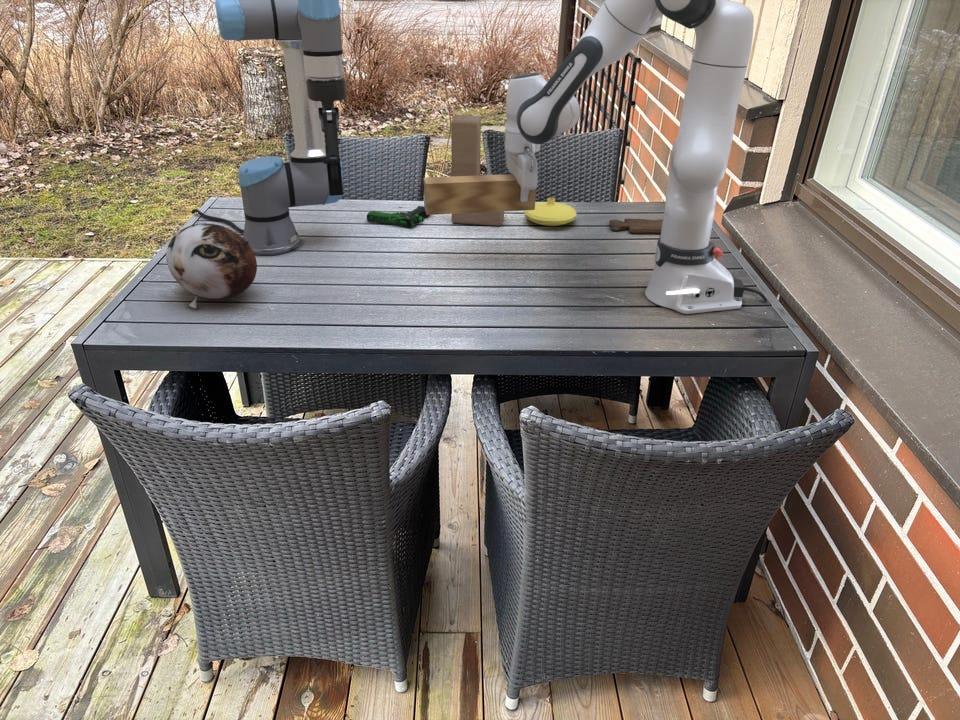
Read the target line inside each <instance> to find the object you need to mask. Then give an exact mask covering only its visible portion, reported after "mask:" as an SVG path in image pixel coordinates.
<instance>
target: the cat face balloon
mask: <svg viewBox="0 0 960 720" xmlns="http://www.w3.org/2000/svg"><path fill="white" fill-rule="evenodd" d="M248 242H249V241H246V240H245V239H244V238H243V236H242V235H240V234H239V233H238V232H236V231H234V230H233V229H231V228H229V227H226V226H223V225H220V224H215V223H205V222H204V223H195V224H191V225H188V226H186V227H183V228H182V229H180V230H179V231H177V232H176V233H175V234H174V235H173V237H171V239H170V241H169V243H168V245H167V248H166V254H165V260H166V265H167V268H168V271H169V273H170V275H171V276H172V277H173V279H174V280H175V281H176V282H177V284H178V285H180V286H181V287H182V288H183V289H185V290H186V291H187V292H189V293H191V294H194V295H195V298H194V299H193V300H192V302H190V303H189V304H188V306H189V307H191V308H192V309H197V308H198V307H197V298H198V297H201V298H205V299H210V300H226V299H230V298H233V297H236V296H238V295H241V294H242V293H244V292H245V291H247V290H248V289H249V288H250V286H251V285H252V284H253V282H254V280H255V278H256V275H257V271H258V262H257V257H256V254H254V252H253V250H252V248H251V247H250V245H249V244H248Z"/></svg>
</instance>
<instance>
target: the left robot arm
mask: <svg viewBox="0 0 960 720" xmlns="http://www.w3.org/2000/svg"><path fill="white" fill-rule="evenodd" d="M214 6H215V13H216V20H217V24H218V25H217V26H218V31H219V36H220V38H221V39H222V40H225V41H235V42H242V41H261V40H275V43H276V44H277V45H278V46H279V47H280V48H281V49H282V53H283V62H284V68H285V76H286V77H285V78H286V85H287V93H288V101H289V108H290V116H291V125H292V132H293V140H294V141H293V142H294V149H293V150H292V151H291V153H290V154H289V155H290V161H287V162H285V161H284V160H283V158H282V157H281V156H278V155H267V156H266V155H265V156H260V157H255V158H252V159H250V160H247V161H245V162H243V163H242V164H241V165H240V166H239V168H238V170H237V174H238V186H239V187H240V194H241V201H242V207H243V212H244V213H243V215H244V219H245V220H244V226H243V228H244V229H242V228H240V227H238V226H237V225H236V224H235V223H234V222H232V221H231V220H228V219H225V218H222V217H217V216H212V215H209V214H205V213H204V212H202V211H201V210H199V209H197V208H194V209H192V210H191V212H190V214H192V215H193V214H196V213H197V212H198V213H197V214H198V215H199V216H201V217H202V218H205V219H207V220H211V221H216V222H222V223H225V224H228V225H230V226H231V227H232V228H233V229H235V230H236V231H237V232H239V233H241V234H243V235H242V237H243V238H244V239H245V240H246V241H249V242H248V244H249V245H250V247H251V248H252V250H253V252H254V254H255V256H256V255H257V256H275V255H281V254H282V255H283V254H285V253H289V252H291V251H293V250H296V249H297V248H298V247H299V246H300V244H301V241H300V235H299V233H298V231H297V229H296V227H295V225H294V223H293V220H292V218H291V216H290V208H295V207H307V206H308V207H309V206H318V205H322V206H325V205H329V204H336V203H338V202H339V201H340V200H341V198H342V196H344V171H343V162H342V160H341V157H340V148H339V147H340V146H339V145H340V144H341V138H339V136H338V132H340V123H339V120H340V111H339V107H338V106H335V102H340V101H343V100H345V99H346V98H347V86H346V85H347V84H346V80H345V78H343V77H344V76H345V66H344V65H347V64H348V60H347V59H346V58H344V50H343V38H342V37H343V36H342V23H341V21H342V20H341V12H342V9H341V6H340V0H215V1H214Z"/></svg>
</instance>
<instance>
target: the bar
mask: <svg viewBox="0 0 960 720" xmlns="http://www.w3.org/2000/svg"><path fill="white" fill-rule="evenodd" d="M520 193H521V188H520V185H519V184H518V182H517V180H516V178H515V177H514V176H513V174H511V173H508V174H480V175H477V176H452V175H451V176H430V177H429V176H428V177H426V176H425V177H423V203H424V204H423V207H424V208H425V211H426V214H427V215H429V216H434V215H435V216H436V215H437V216H438V215H452V214H459V213H480V212H502V211H504V212H520V211H523V212H524V210H535V203H536V197H537V196H536V195H537V188H536V189H535V190H529V193H528V200H527V202H521V201H520Z"/></svg>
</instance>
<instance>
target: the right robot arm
mask: <svg viewBox="0 0 960 720" xmlns="http://www.w3.org/2000/svg"><path fill="white" fill-rule="evenodd" d="M662 15H663V16H664V17H665V18H667V19H670V20H671V21H673V22H675V23H677V24H679V25H681V26H683V27H685V28H687V29H689V30H691V29H692V30H693V29H694V33H695V42H694V48H693V53H692V58H691V61H690V62H691V63H690V66H689V67H690V68H689V72H688V77H687V81H686V86H685V90H684V91H685V92H684V97H683V103H682V110H681V117H680V121H679V122H680V123H679V129H678V134H677V136H676V138H675V139H674V141H673V144H672V146H671V155H670V162H669V169H668V178H667V185H666V193H665V202H664V210H663V216H662V219H663V222H662V229H661V233H660V236H659V237H658V239H657V242H656V247H655V252H654V267H653V271H652V274H651V277H650V279H649V282H648V285H647V286H646V288H645V290H644V295H645V298H647V300H649V301H650V302H651V303H654V304H655V305H658V306H659V307H663V308H667V309H671V310H674V311H675V312H678V313H679V314H683V315H693V314H701V313H702V314H703V313H710V312H719V311H720V312H722V311H730V310H737V309H741V308H742V305H743V299H742V298H744V294H745V293H744V292H745V291H746V292H752V293H755V294H756V295H759V297H760V298H762V300H763V301H764V302H767V301H768V298H767V297H766V296H765V294H764V293H762V292H761V291H760V290H758V289H755V288H751V287H747V286H745V285H744V283H743V281H742V279H738V278H734V277H733V275H732V274H731V272H730V270H729V269H727V268H726V267H725V266H724V265H723V264H722V263H721V262H720V261H718V260H717V259H721V258H722V257H723V255H724V252H723V250H722V249H721V248H720V247H717V246H716V245H715V244H714V243H713V242H711V241H710V240H711V236H712V229H713V224H714V219H715V214H716V206H717V195H718V188H719V187H718V186H719V185H720V183H721V182H722V180H723V179H724V177H725V174H726V171H727V168H728V163H729V158H730V155H731V148H732V143H733V137H734V133H735V126H736V121H737V113H738V108H739V104H740V99H741V94H742V90H743V86H744V83H745V78H746V75H747V70H748V65H749V61H750V57H751V51H752V44H753V39H754V38H753V37H754V25H755V24H754V21H755V20H754V18H755V17H754V13H753V11H752V10H751V8H750V7H749V6H747V5H745V4H744V3H742V2H739V1H735V0H604V2H603V3H602V5H601V6H600V7H599V9H598V11H597V12H596V14H595V15H594V16H593V18H592V20H591V22H590V23H589V24H588V25H587V28H586V29H585V30H584V32H583V33H582V35H581V36H580V38H579V39H578V41H577V42H576V44H575V45H574V47H573V49H571V51H570V52H569V53H568V54H567V56H566V57H565V59H564V60H563V61H562V63H561V64H560V65H559V66H558V67H557V69H556V70H555V71H554V72H553V74H552V75H551V76H550V78H549V80H548V81H547V80H546V79H545V78H544V77H543V76H542V74H541V73H539V72H528V73H521V74H517V75H515V76H513V77H511V78H510V80H509V82H508V85H507V91H506V99H505V115H506V124H505V128H504V134H503V138H502V139H503V143H504V150H505V165H506V169H507V170H508V171H509V174H513V176H514V177H515V178H516V180H517V182H518V184H519V185H520V188H521V193H520V201H521V202H527V200H528V193H529V190H535V189H536V190H537V189H538V181H539V179H538V178H539V177H538V176H539V175H538V174H539V171H538V169H539V168H538V159H537V158H536V153H539V152H540V150H541V145H542V144H545V143H547V142H548V141H550V140H552V139H553V138H555V137H558V136H559V135H562V134H564V133H566V132H568V131H570V130H571V129H573V128H574V127H576V125H578V123H579V120H580V118H581V106H580V103H579V100H578V99H577V97H576V96H575V95H576V93H578V91H579V90H580V89H581V87H582V86H583V85H585V83H586V82H587V81H588V80H589V79H590V78H591V77H592V76H593V75H595V74H596V73H598V72H600V71H601V70H603V69H604V68H607V67H608V66H610V65H612V64H614V63H617V62H618V61H620V60H622V59H624V58H625V57H626V56H627V55H628V54H629V53H630V52H631V51H632V50H633V49H634V48H635V47H636V46H637V45H638V44H639V43H640V42H641V41H642V40H643V38H644V37H645V35H646V34H647V32H648V31H649V30H650V29H651V28H652V26H653V24H654V23H655V22H656V21H657V20H658V19H659V18H660V17H661V16H662Z"/></svg>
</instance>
